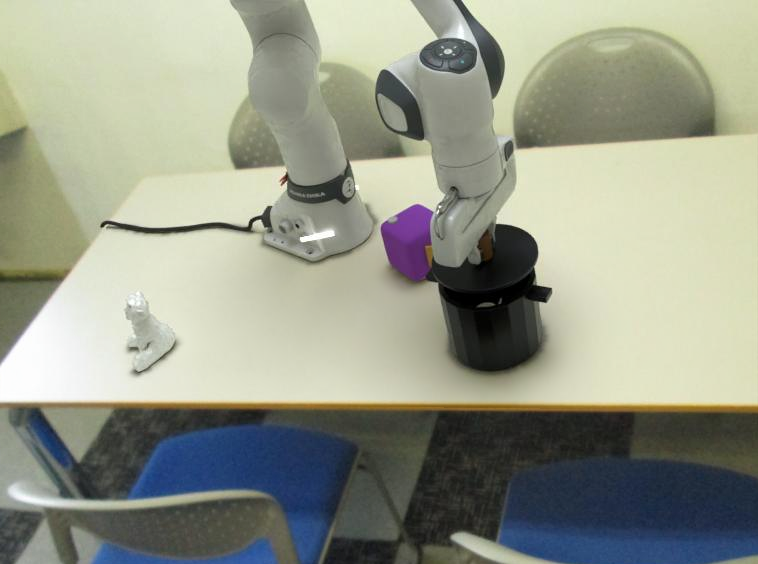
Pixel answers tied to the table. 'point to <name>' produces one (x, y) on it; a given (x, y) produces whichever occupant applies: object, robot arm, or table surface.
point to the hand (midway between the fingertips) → (482, 252)
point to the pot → (494, 323)
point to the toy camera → (409, 241)
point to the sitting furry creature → (146, 332)
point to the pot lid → (492, 263)
